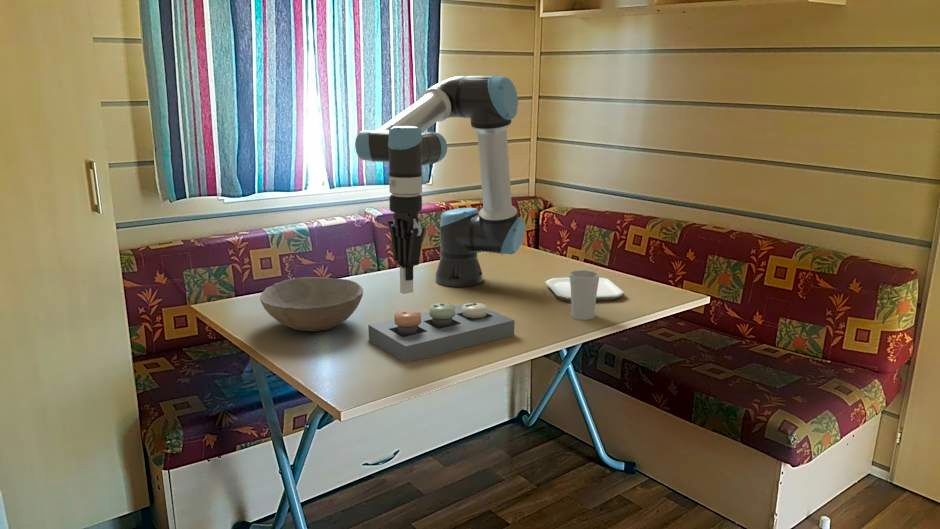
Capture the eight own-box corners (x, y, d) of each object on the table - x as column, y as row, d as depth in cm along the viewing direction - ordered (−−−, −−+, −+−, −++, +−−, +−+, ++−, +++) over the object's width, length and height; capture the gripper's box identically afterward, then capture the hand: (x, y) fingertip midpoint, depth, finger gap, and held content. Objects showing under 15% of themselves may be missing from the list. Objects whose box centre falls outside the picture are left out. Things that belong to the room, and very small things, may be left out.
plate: (559, 305, 210) (560, 297, 210) (542, 285, 230) (542, 278, 230) (628, 302, 214) (628, 295, 213) (604, 282, 233) (605, 276, 233)
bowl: (316, 352, 173) (314, 312, 171) (240, 331, 187) (237, 294, 184) (385, 321, 195) (384, 285, 192) (312, 305, 208) (310, 271, 206)
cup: (596, 321, 196) (599, 278, 193) (566, 319, 197) (568, 276, 194) (597, 312, 203) (599, 271, 200) (569, 310, 205) (570, 269, 202)
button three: (457, 323, 189) (457, 305, 188) (477, 318, 193) (477, 300, 192) (471, 330, 184) (471, 311, 183) (491, 325, 188) (492, 306, 187)
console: (368, 339, 181) (368, 324, 180) (472, 316, 199) (472, 302, 198) (405, 362, 167) (405, 346, 166) (514, 334, 185) (514, 320, 184)
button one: (389, 332, 178) (389, 312, 176) (412, 327, 181) (412, 307, 180) (403, 339, 172) (402, 319, 171) (426, 334, 176) (425, 314, 175)
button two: (424, 324, 183) (424, 305, 182) (445, 319, 187) (445, 300, 186) (438, 331, 178) (438, 312, 177) (460, 326, 182) (460, 307, 180)
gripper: (377, 192, 171) (379, 288, 177) (406, 199, 161) (407, 301, 167) (405, 189, 175) (406, 283, 181) (434, 196, 165) (434, 296, 171)
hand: (406, 292), depth 174 cm, fingers closed
